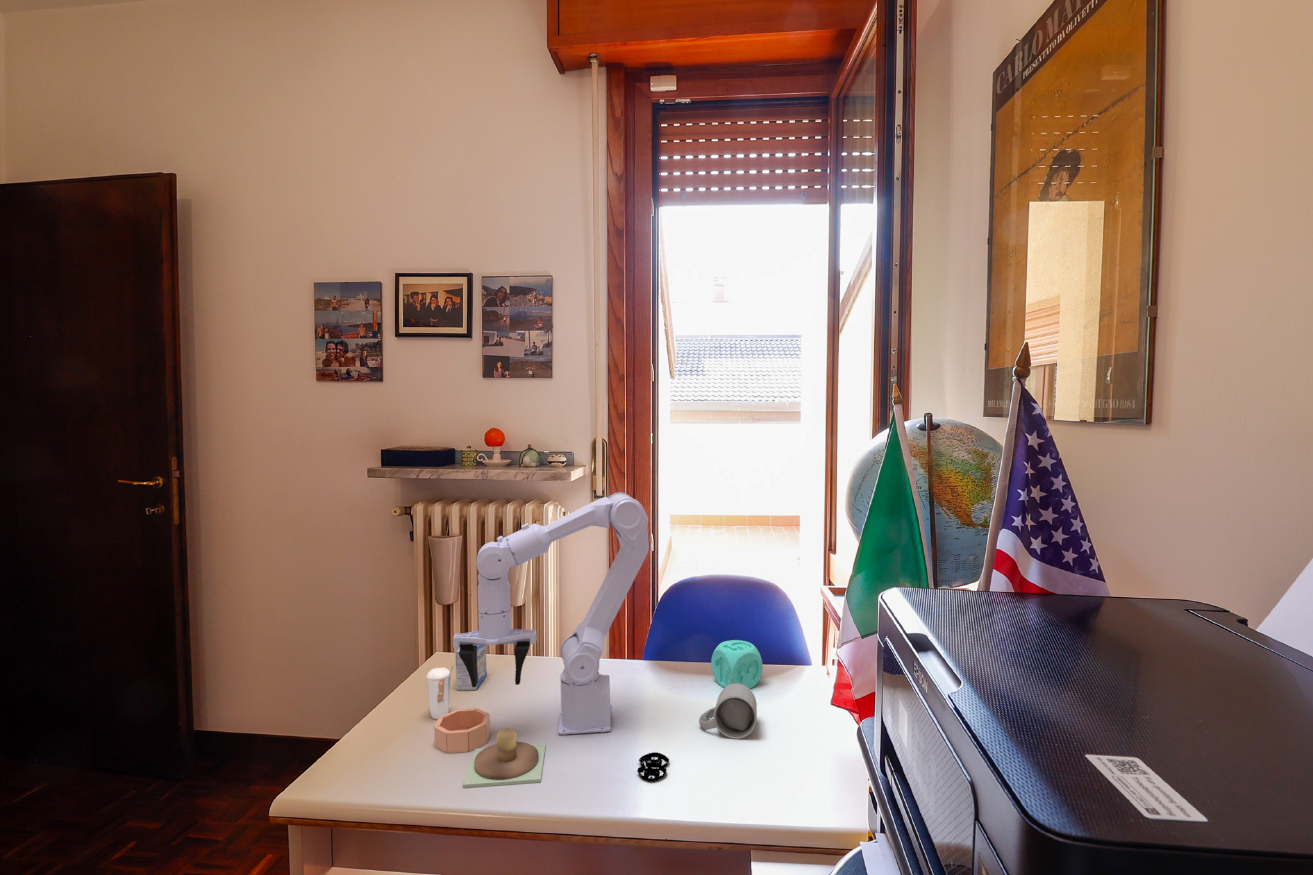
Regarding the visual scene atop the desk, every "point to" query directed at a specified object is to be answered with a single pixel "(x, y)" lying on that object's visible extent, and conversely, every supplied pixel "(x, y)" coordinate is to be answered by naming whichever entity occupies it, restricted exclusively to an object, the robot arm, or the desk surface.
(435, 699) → the milkshake
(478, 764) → the walnut lid
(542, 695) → the desk surface
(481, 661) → the medicine box
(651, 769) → the black flat openwork piece
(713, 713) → the ceramic mug
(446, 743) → the terracotta bowl
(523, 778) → the green mat
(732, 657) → the decorative dice
